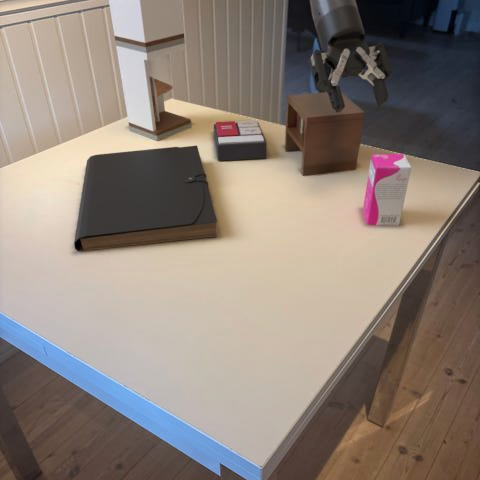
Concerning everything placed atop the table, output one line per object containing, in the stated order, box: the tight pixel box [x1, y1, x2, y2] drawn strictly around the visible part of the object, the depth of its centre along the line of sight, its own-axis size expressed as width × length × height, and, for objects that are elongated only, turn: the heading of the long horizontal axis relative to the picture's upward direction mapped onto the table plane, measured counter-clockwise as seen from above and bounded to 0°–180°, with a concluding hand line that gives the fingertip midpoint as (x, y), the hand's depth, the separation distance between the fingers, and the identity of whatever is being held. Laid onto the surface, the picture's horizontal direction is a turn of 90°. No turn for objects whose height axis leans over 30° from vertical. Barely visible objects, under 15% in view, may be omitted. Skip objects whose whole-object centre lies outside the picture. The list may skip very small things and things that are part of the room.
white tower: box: [108, 0, 192, 142], centre depth 112 cm, size 11×11×35 cm
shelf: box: [284, 91, 366, 176], centre depth 105 cm, size 12×14×12 cm
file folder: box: [73, 145, 218, 252], centre depth 94 cm, size 33×4×24 cm
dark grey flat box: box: [213, 119, 268, 162], centre depth 113 cm, size 11×4×15 cm
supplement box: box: [362, 153, 412, 227], centre depth 85 cm, size 6×6×12 cm
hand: (362, 106), depth 85 cm, fingers open, 8 cm apart
